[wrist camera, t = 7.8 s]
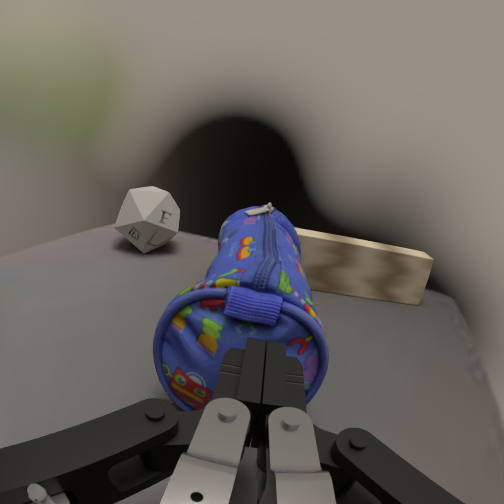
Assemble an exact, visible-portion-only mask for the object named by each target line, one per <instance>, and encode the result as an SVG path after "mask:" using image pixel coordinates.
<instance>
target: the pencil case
mask: <svg viewBox="0 0 504 504" xmlns="http://www.w3.org/2000/svg"><path fill="white" fill-rule="evenodd" d="M218 249H219V251H218V255H217V256H216V258H215V259H214V260H213V262H212V264H211V265H210V267H209V269H208V271H207V274H206V278H205V280H203V281H201V282H198V283H196V284H194V285H192V286H190V287H188V288H187V289H185V290H184V291H182V292H181V293H179V294H178V295H177V296H176V297H175V298H174V299H173V300H172V301H171V302H170V303H169V305H168V306H167V308H166V309H165V311H164V313H163V315H162V316H161V318H160V320H159V322H158V324H157V327H156V330H155V335H154V341H153V357H154V364H155V368H156V372H157V375H158V377H159V380H160V382H161V384H162V386H163V388H164V389H165V391H166V392H167V394H168V395H169V396H170V398H171V399H172V400H173V401H174V402H175V403H176V404H177V405H178V406H179V407H181V408H182V409H183V410H185V411H196V410H200V409H202V408H204V407H206V405H207V404H208V403H209V402H211V400H212V397H213V393H214V389H215V386H216V382H217V378H218V375H219V371H220V367H221V364H222V360H223V356H224V354H225V353H226V352H227V351H228V350H229V349H230V348H231V347H233V348H239V349H245V347H246V342H247V337H250V338H256V339H262V340H266V342H267V340H268V341H275V342H282V343H286V356H291V357H297V358H298V360H299V361H300V363H301V364H302V366H303V374H304V376H303V377H304V386H305V399H306V405H307V404H308V403H309V402H310V400H311V399H312V398H313V397H314V395H315V394H316V392H317V391H318V389H319V387H320V386H321V384H322V382H323V380H324V377H325V374H326V372H327V368H328V360H329V353H328V344H327V337H326V333H325V330H324V328H323V326H322V323H321V322H320V320H319V318H318V317H317V313H316V310H315V308H314V306H313V304H312V294H311V290H310V287H309V285H308V282H307V280H306V276H305V272H304V270H303V267H302V266H301V247H300V241H299V237H298V234H297V232H296V230H295V228H294V227H293V225H292V224H291V223H290V222H289V220H287V218H286V217H285V216H284V215H283V214H282V213H281V212H279V211H277V210H276V209H275V208H273V207H272V206H271V203H268V205H262V206H261V207H258V206H255V207H250V208H247V209H242V210H239V211H237V212H235V213H234V214H233V215H231V216H229V218H228V219H227V220H226V221H225V222H224V223H223V225H222V227H221V230H220V233H219V239H218ZM265 346H266V343H265Z"/></svg>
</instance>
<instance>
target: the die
mask: <svg viewBox="0 0 504 504" xmlns="http://www.w3.org/2000/svg"><path fill="white" fill-rule="evenodd" d="M179 215H180V209H179V208H178V206H177V205H176V203H175V201H174V200H173V198H172V196H171V195H170V193H169V192H166V191H164V190H161V189H159V188H156V187H154V186H151V187H144V188H137V189H130V190H129V192H128V194H127V196H126V198H125V200H124V202H123V205H122V207H121V210H120V213H119V215H118V218H117V221H116V224H115V227H114V228H115V229H116V230H117V231H119V232H120V233H121V234H122V235H123V236H124V237H125V238H127V239H128V240H129V241H130V242H131V243H132V244H133V245H135V246H136V247H137V248H138V249H139V250H140V251H142V252H143V253H147V252H149V251H151V250H154V249H156V248H158V247H161V246H163V245H165V244H167V243H168V242H169V241H170V240H171V239H172V238H173V237H174V236H175V235H176V234H177V233H178V226H179Z"/></svg>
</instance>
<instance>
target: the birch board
mask: <svg viewBox="0 0 504 504" xmlns="http://www.w3.org/2000/svg"><path fill="white" fill-rule="evenodd" d="M295 230H296V232H297V234H298V237H299V241H300V247H301V266H302V267H303V270H304V272H305V276H306V280H307V282H308V285H309V287H310V289H311V290H317V291H324V292H330V293H337V294H344V295H350V296H357V297H364V298H371V299H378V300H385V301H392V302H399V303H407V304H414V305H419V303H420V301H421V298H422V295H423V292H424V289H425V286H426V283H427V280H428V277H429V274H430V271H431V267H432V264H433V261H434V260H433V259H432V258H431V257H430V256H428V255H427V254H426V253H425V252H421V251H416V250H411V249H406V248H401V247H396V246H391V245H386V244H381V243H376V242H370V241H365V240H360V239H354V238H349V237H344V236H338V235H332V234H327V233H322V232H316V231H311V230H305V229H299V228H295Z"/></svg>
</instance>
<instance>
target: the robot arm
mask: <svg viewBox="0 0 504 504" xmlns="http://www.w3.org/2000/svg"><path fill="white" fill-rule="evenodd" d="M265 343H266V346H265ZM303 376H304V374H303V366H302V364H301V363H300V361H299V360H298V358H297V357H291V356H286V343H282V342H275V341H268V340H267V342H266V340H262V339H256V338H250V337H247V342H246V347H245V349H239V348H233V347H231V348H230V349H229V350H228V351H227V352H226V353H225V354H224V356H223V360H222V364H221V367H220V371H219V375H218V378H217V382H216V386H215V389H214V393H213V397H212V400H211V402H209V403H208V404H207V405H206V407H204V408H202V409H200V410H196V411H186V412H178V411H177V410H176V408H175V407H174V406H173V405H172V404H171V403H169V402H167V401H165V400H162V399H154V398H153V399H146V400H143V401H140V402H138V403H135V404H133V405H130V406H128V407H125V408H123V409H120V410H118V411H115V412H112V413H110V414H107V415H104V416H102V417H99V418H96V419H94V420H91V421H88V422H85V423H82V424H79V425H77V426H74V427H71V428H68V429H65V430H62V431H59V432H56V433H53V434H49V435H46V436H43V437H40V438H37V439H33V440H30V441H26V442H23V443H19V444H16V445H12V446H9V447H5V448H1V449H0V504H114V503H116V502H118V501H121V500H123V499H125V498H127V497H129V496H131V495H134V494H136V493H138V492H140V491H142V490H144V489H146V488H148V487H150V486H152V485H154V484H156V483H158V482H160V481H162V480H164V479H166V478H167V477H169V476H171V475H172V477H171V479H170V481H169V484H168V486H167V488H166V491H165V493H164V495H163V497H162V500H161V502H160V504H229V501H230V497H231V493H232V489H233V485H234V482H235V478H236V474H237V470H238V466H239V462H240V461H241V460H242V458H243V454H244V450H245V446H246V447H249V445H250V442H251V438H252V443H251V447H253V448H258V452H257V458H256V462H255V466H254V504H465V503H463V502H462V501H460V500H459V499H457V498H456V497H454V496H453V495H452V494H450V493H449V492H447V491H446V490H445V489H443V488H442V487H440V486H439V485H438V484H436V483H435V482H433V481H432V480H431V479H429V478H428V477H427V476H425V475H424V474H422V473H421V472H420V471H418V470H417V469H416V468H414V467H413V466H412V465H410V464H409V463H408V462H406V461H405V460H404V459H403V458H401V457H400V456H399V455H397V454H396V453H395V452H393V451H392V450H391V449H390V448H388V447H387V446H386V445H385V444H383V443H382V442H381V441H379V440H378V439H377V438H376V437H374V436H373V435H372V434H371V433H369V432H368V431H366V430H363V429H360V428H348V429H345V430H343V431H341V432H340V433H339V434H338V435H337V434H334V433H331V432H328V431H325V430H322V429H320V428H318V427H317V426H315V425H314V424H313V423H312V420H311V418H310V417H309V415H307V412H306V399H305V386H304V377H303Z"/></svg>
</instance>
